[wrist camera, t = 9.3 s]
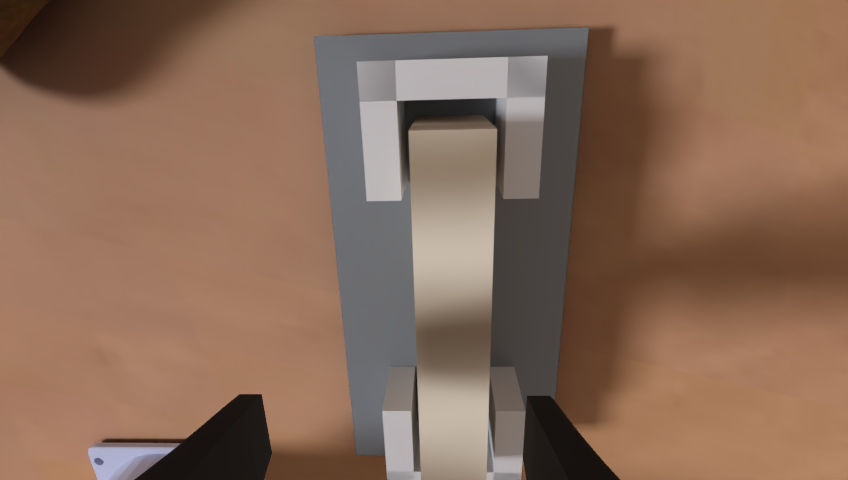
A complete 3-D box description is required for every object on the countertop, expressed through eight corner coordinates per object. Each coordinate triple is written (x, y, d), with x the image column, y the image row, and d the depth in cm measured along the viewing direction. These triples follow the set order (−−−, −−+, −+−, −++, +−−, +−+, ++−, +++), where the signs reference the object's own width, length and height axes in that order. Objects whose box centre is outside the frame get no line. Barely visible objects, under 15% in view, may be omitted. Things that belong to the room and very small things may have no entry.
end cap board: (545, 442, 24) (565, 510, 20) (359, 440, 24) (344, 507, 21) (580, 29, 17) (620, 16, 13) (320, 38, 17) (287, 28, 14)
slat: (476, 408, 22) (486, 498, 17) (426, 407, 22) (421, 497, 18) (482, 114, 17) (497, 128, 13) (417, 115, 17) (408, 130, 13)
